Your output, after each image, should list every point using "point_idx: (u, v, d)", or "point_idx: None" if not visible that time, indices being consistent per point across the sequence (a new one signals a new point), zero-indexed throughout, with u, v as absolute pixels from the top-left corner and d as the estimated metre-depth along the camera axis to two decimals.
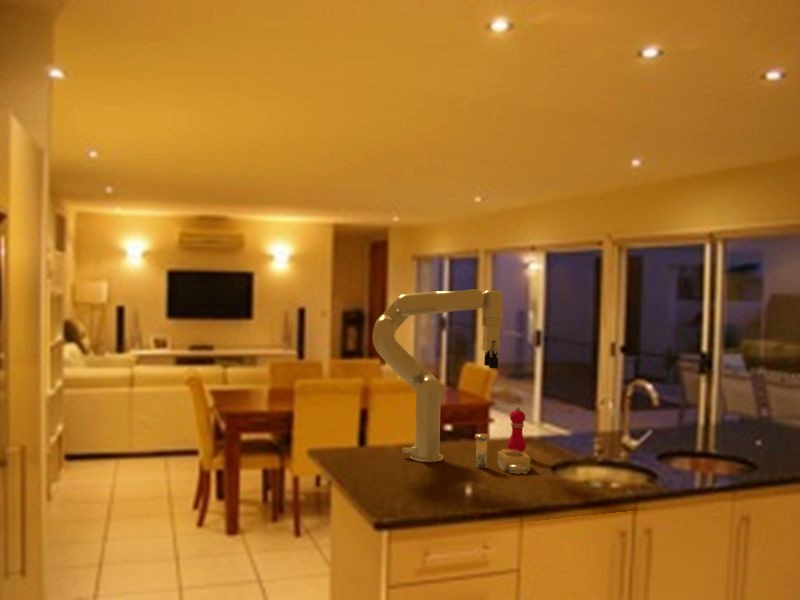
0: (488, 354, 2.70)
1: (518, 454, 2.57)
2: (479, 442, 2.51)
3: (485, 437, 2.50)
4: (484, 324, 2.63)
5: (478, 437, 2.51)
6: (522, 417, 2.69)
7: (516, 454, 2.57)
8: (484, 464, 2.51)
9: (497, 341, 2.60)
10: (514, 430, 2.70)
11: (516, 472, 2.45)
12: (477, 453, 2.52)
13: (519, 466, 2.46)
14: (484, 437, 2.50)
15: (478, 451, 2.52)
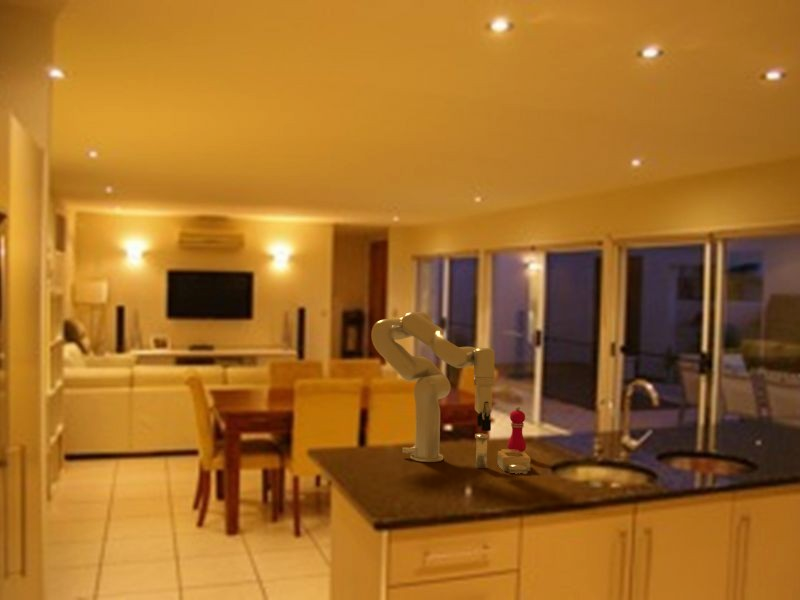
0: (481, 414, 2.57)
1: (518, 454, 2.57)
2: (479, 442, 2.51)
3: (485, 437, 2.50)
4: (476, 384, 2.51)
5: (478, 437, 2.51)
6: (522, 417, 2.69)
7: (516, 454, 2.57)
8: (484, 464, 2.51)
9: (489, 402, 2.48)
10: (514, 430, 2.70)
11: (516, 472, 2.45)
12: (477, 453, 2.52)
13: (519, 466, 2.46)
14: (484, 437, 2.50)
15: (478, 451, 2.52)
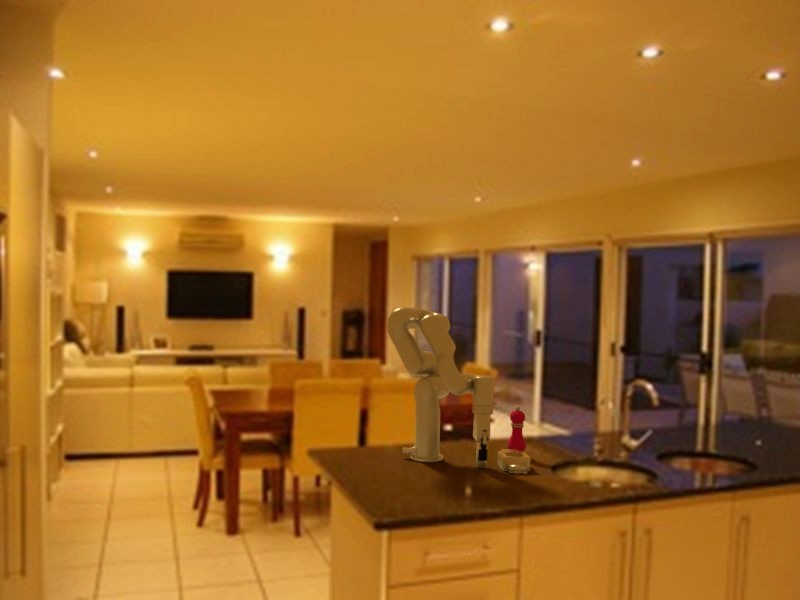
0: None
1: (518, 454, 2.57)
2: None
3: None
4: (474, 412, 2.51)
5: None
6: (522, 417, 2.69)
7: (516, 454, 2.57)
8: (484, 464, 2.51)
9: (488, 430, 2.48)
10: (514, 430, 2.70)
11: (516, 472, 2.45)
12: (477, 453, 2.52)
13: (519, 466, 2.46)
14: None
15: None
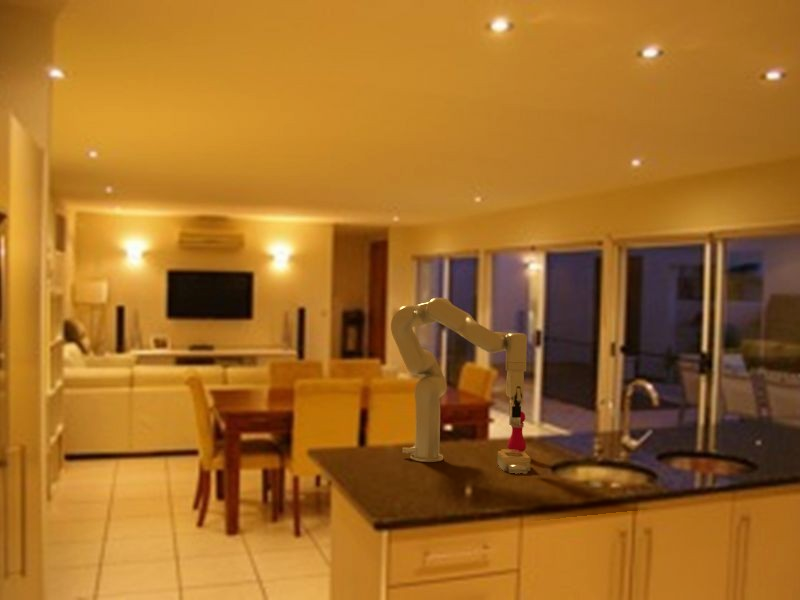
0: None
1: (518, 454, 2.57)
2: None
3: None
4: (508, 369, 2.51)
5: None
6: (522, 417, 2.69)
7: (516, 454, 2.57)
8: (518, 421, 2.52)
9: (522, 387, 2.48)
10: (514, 430, 2.70)
11: (516, 472, 2.45)
12: (511, 410, 2.52)
13: (519, 466, 2.46)
14: None
15: (511, 408, 2.52)
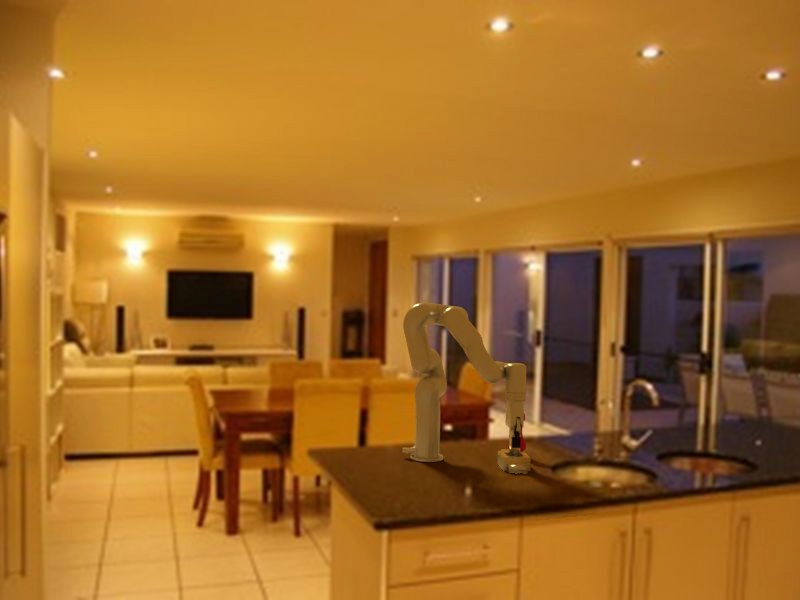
0: None
1: None
2: (512, 429, 2.52)
3: None
4: (507, 399, 2.51)
5: None
6: None
7: None
8: (518, 451, 2.52)
9: (521, 417, 2.49)
10: None
11: (516, 472, 2.45)
12: (510, 440, 2.52)
13: (519, 466, 2.46)
14: None
15: (511, 438, 2.52)
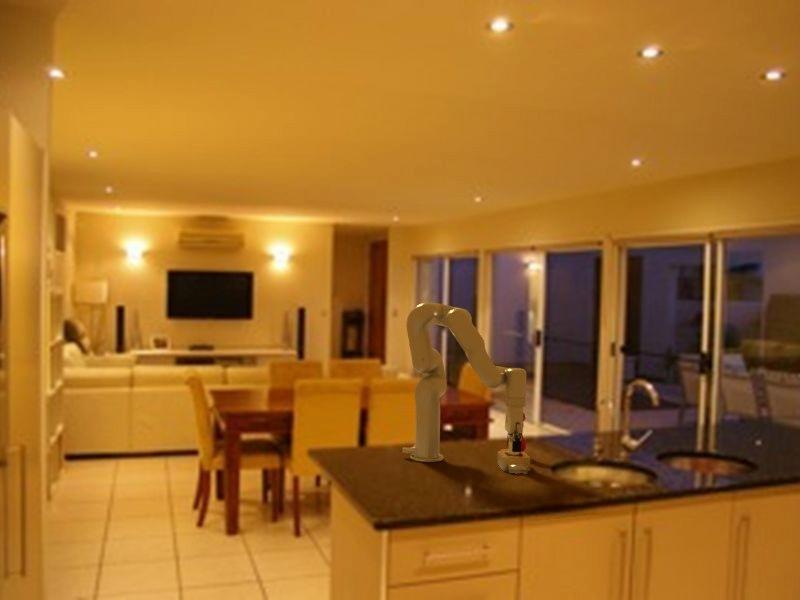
0: None
1: None
2: (511, 442, 2.52)
3: None
4: (507, 404, 2.51)
5: (510, 437, 2.52)
6: None
7: None
8: None
9: (521, 423, 2.49)
10: None
11: (516, 472, 2.45)
12: (509, 453, 2.53)
13: (519, 466, 2.46)
14: None
15: (510, 452, 2.52)
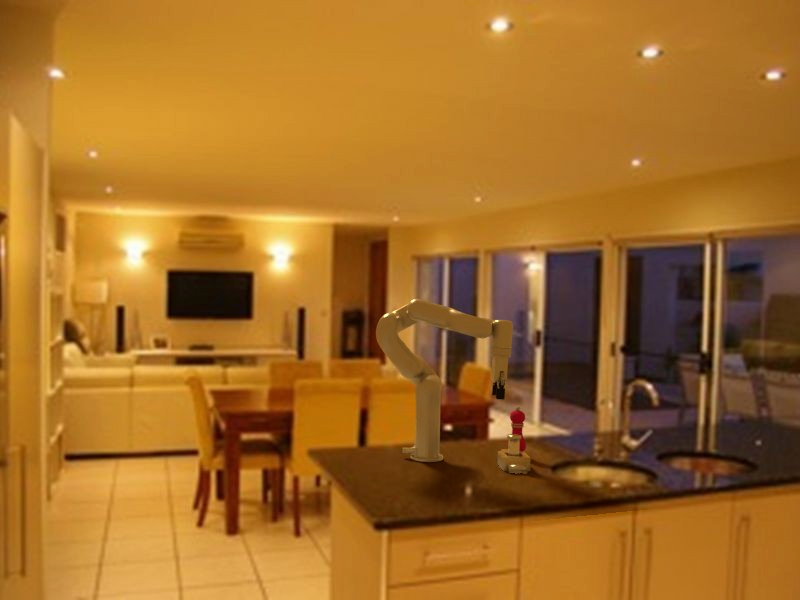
0: (496, 384, 2.66)
1: None
2: (511, 442, 2.52)
3: (517, 437, 2.51)
4: (493, 354, 2.59)
5: (510, 437, 2.52)
6: (522, 417, 2.69)
7: None
8: None
9: (505, 372, 2.56)
10: (514, 430, 2.70)
11: (516, 472, 2.45)
12: (509, 453, 2.53)
13: (519, 466, 2.46)
14: (516, 437, 2.51)
15: (510, 452, 2.52)
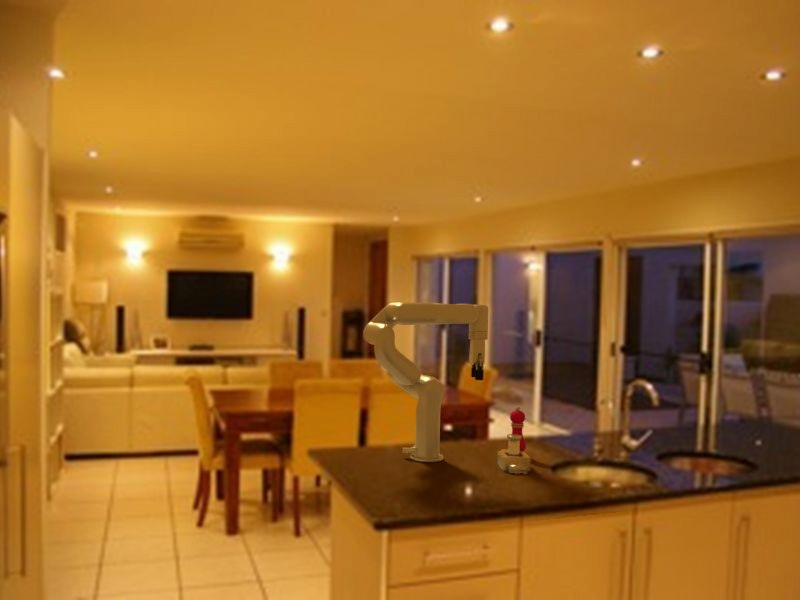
0: (475, 366, 2.78)
1: None
2: (511, 442, 2.52)
3: (517, 438, 2.51)
4: (470, 337, 2.71)
5: (510, 437, 2.52)
6: (522, 417, 2.69)
7: None
8: None
9: (483, 354, 2.68)
10: (514, 430, 2.70)
11: (516, 472, 2.45)
12: (509, 453, 2.53)
13: (519, 466, 2.46)
14: (516, 438, 2.51)
15: (510, 452, 2.52)
